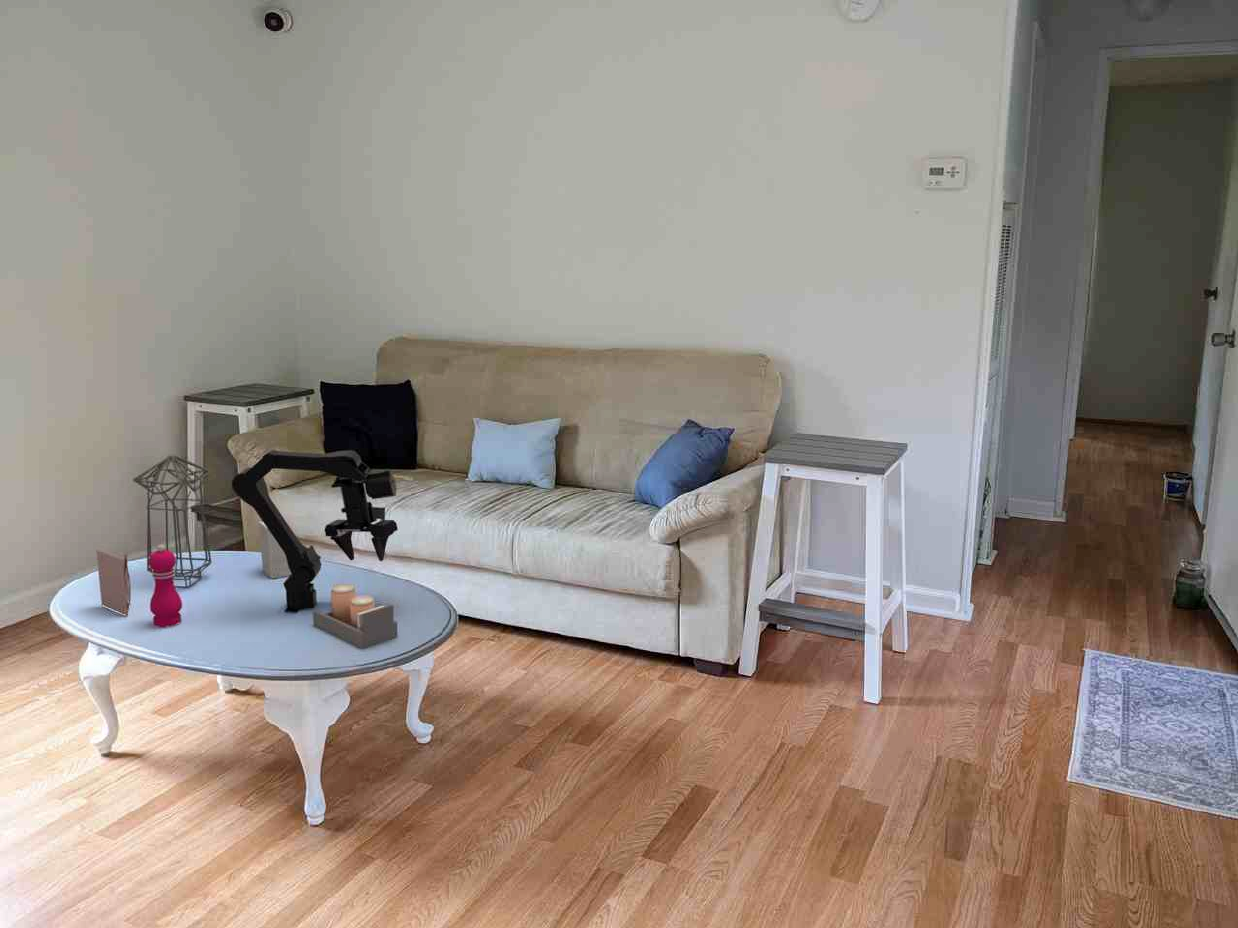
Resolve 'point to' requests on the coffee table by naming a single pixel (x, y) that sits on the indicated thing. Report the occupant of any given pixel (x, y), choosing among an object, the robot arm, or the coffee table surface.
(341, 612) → the terracotta jar
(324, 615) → the tray
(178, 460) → the geometric lantern
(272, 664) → the coffee table surface
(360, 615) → the panel
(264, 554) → the skincare box
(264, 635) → the coffee table surface
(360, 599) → the jar in lane
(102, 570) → the brown paper bag
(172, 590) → the pepper mill
